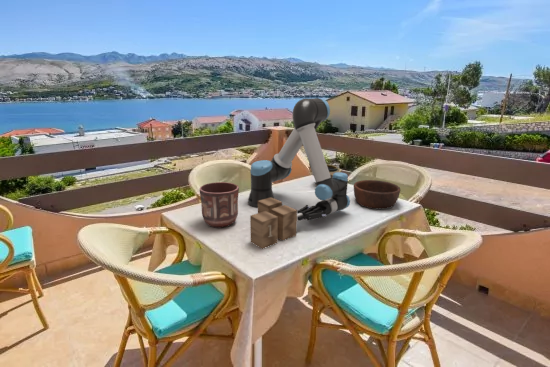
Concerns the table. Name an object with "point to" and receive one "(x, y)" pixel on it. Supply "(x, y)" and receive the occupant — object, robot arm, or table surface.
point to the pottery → (219, 203)
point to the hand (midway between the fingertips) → (291, 219)
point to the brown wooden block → (285, 221)
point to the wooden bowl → (376, 194)
